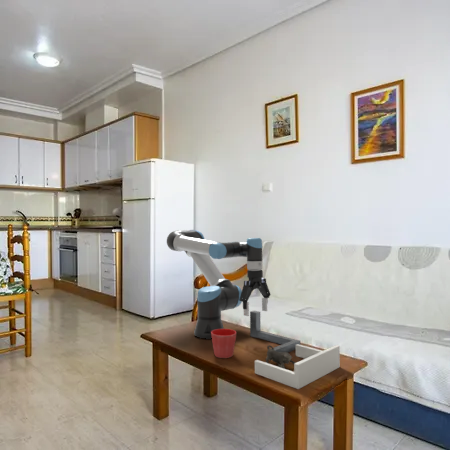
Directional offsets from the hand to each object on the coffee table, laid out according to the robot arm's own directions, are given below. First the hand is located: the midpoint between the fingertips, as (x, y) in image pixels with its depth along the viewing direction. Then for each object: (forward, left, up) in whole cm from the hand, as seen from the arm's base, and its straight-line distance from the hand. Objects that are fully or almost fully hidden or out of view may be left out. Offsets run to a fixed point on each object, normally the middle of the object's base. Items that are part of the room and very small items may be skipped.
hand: (255, 313), depth 181 cm
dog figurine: (+33, -23, -12) cm, 42 cm away
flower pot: (+8, -29, -12) cm, 32 cm away
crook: (+11, -8, -11) cm, 18 cm away
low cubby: (+39, -21, -11) cm, 46 cm away
